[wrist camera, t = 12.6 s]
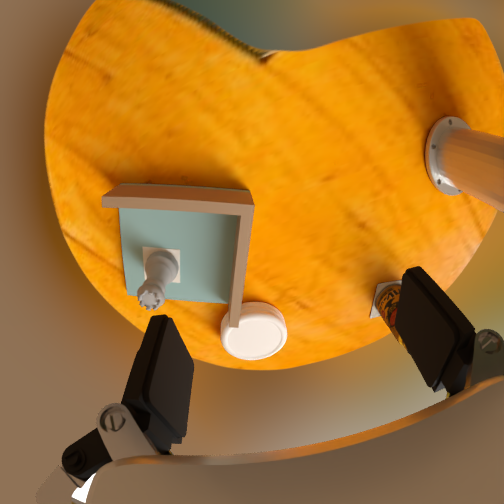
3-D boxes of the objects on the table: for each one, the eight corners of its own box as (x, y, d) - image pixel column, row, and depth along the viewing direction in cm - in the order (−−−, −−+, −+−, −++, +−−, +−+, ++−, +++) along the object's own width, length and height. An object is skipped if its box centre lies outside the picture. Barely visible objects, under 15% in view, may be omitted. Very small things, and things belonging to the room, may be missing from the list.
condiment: (377, 283, 40) (413, 332, 30) (416, 276, 41) (455, 318, 30) (368, 317, 44) (398, 366, 33) (406, 309, 44) (438, 352, 33)
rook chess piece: (184, 258, 34) (174, 294, 27) (172, 283, 36) (161, 323, 29) (153, 243, 33) (135, 277, 26) (142, 270, 34) (125, 307, 27)
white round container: (280, 293, 40) (284, 308, 36) (286, 339, 44) (290, 354, 41) (213, 306, 40) (212, 322, 37) (228, 350, 44) (229, 365, 41)
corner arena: (249, 190, 32) (254, 205, 27) (236, 299, 39) (238, 327, 34) (121, 183, 30) (101, 196, 25) (129, 291, 37) (117, 316, 32)
